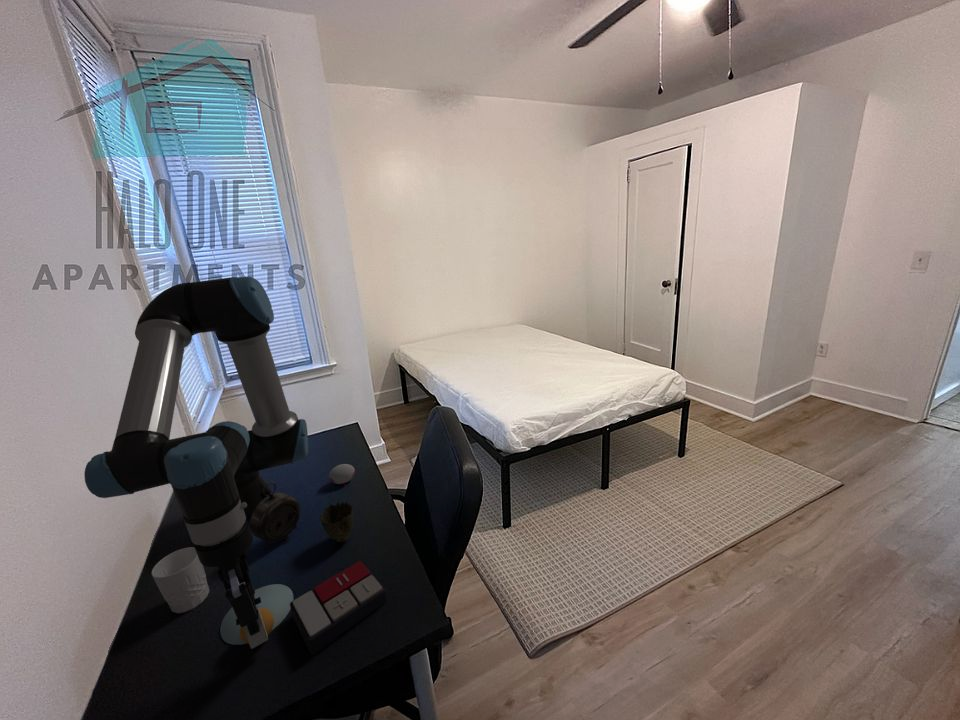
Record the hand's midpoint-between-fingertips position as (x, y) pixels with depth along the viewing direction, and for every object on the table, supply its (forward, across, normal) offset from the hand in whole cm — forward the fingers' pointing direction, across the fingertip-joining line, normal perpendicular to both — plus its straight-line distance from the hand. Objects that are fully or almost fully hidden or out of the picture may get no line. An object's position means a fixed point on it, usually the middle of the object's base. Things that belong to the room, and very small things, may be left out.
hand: (259, 641), depth 69 cm
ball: (0, +3, 0) cm, 3 cm away
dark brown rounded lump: (+2, +19, -20) cm, 28 cm away
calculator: (+3, 0, -14) cm, 14 cm away
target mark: (+2, +10, 0) cm, 10 cm away
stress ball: (+2, +45, -27) cm, 53 cm away
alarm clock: (+2, +30, -8) cm, 31 cm away
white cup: (+2, +23, +11) cm, 26 cm away
